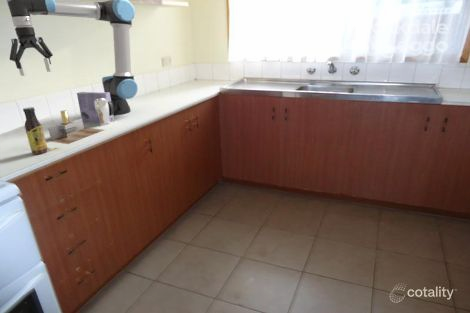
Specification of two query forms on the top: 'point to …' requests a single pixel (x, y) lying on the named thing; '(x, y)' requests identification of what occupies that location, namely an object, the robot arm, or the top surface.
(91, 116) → the cake pan box
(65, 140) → the walnut board
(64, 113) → the hinge pin
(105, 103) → the beer glass
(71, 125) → the grey block
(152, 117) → the top surface
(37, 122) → the sauce bottle
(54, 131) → the grey rectangular block
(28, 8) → the robot arm
